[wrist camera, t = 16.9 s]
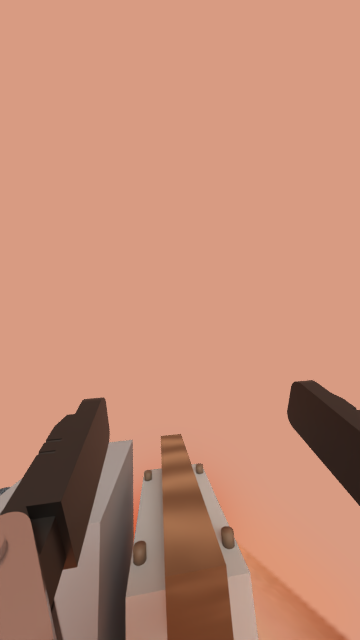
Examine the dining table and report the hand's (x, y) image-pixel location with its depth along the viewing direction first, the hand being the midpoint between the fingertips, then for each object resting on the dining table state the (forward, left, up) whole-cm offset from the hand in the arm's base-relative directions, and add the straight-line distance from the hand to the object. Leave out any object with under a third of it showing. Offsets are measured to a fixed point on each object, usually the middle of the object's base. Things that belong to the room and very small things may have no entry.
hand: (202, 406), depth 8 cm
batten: (-19, -9, -15) cm, 26 cm away
